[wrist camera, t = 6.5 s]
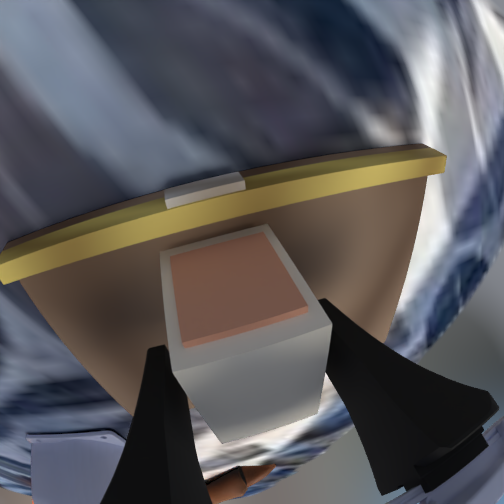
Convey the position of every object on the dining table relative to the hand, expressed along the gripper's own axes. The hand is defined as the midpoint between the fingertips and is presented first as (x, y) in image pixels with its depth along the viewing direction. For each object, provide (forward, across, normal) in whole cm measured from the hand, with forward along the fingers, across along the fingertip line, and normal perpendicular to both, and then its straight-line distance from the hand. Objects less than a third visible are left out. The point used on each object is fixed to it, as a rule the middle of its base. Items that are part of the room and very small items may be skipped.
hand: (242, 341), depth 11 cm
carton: (+2, 0, 0) cm, 2 cm away
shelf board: (+3, -1, +2) cm, 4 cm away
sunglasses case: (+4, +8, +39) cm, 40 cm away
